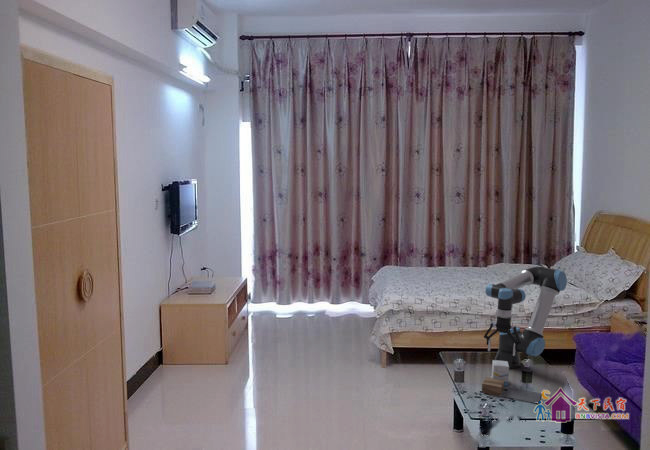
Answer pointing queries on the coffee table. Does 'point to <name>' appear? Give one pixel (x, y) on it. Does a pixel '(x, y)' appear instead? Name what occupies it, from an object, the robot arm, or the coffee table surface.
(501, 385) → the walnut step
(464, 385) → the coffee table surface
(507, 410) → the coffee table surface
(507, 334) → the robot arm
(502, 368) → the ink box
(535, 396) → the mat
